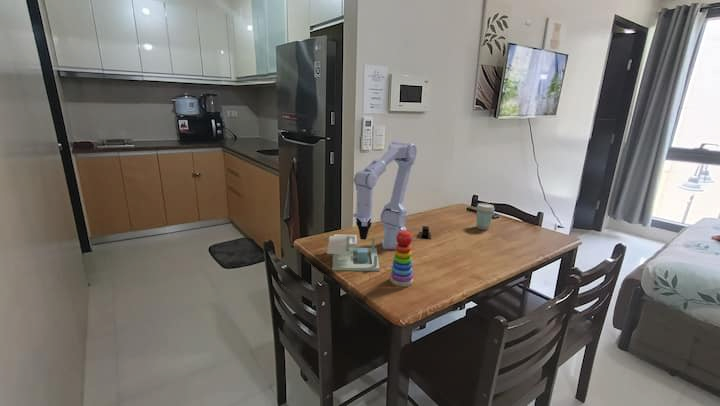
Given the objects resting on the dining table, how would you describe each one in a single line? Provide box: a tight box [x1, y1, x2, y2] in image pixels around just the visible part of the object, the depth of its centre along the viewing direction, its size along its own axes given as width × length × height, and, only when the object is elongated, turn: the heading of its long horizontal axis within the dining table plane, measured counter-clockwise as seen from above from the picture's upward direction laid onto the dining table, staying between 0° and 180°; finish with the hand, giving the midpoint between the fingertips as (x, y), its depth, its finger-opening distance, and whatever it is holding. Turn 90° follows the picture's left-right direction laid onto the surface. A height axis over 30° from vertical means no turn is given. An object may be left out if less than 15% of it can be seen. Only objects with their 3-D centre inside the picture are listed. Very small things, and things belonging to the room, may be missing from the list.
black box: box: [418, 225, 432, 240], centre depth 158 cm, size 12×7×5 cm, turn 170°
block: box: [357, 247, 369, 262], centre depth 130 cm, size 4×4×4 cm
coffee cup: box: [476, 202, 495, 231], centre depth 169 cm, size 8×8×12 cm
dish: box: [333, 234, 358, 248], centre depth 147 cm, size 10×10×2 cm
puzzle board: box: [331, 238, 381, 272], centre depth 130 cm, size 17×18×6 cm
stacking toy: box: [389, 230, 414, 288], centre depth 113 cm, size 8×8×19 cm
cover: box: [326, 235, 350, 255], centre depth 129 cm, size 8×15×1 cm, turn 1°
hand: (363, 237), depth 128 cm, fingers closed
